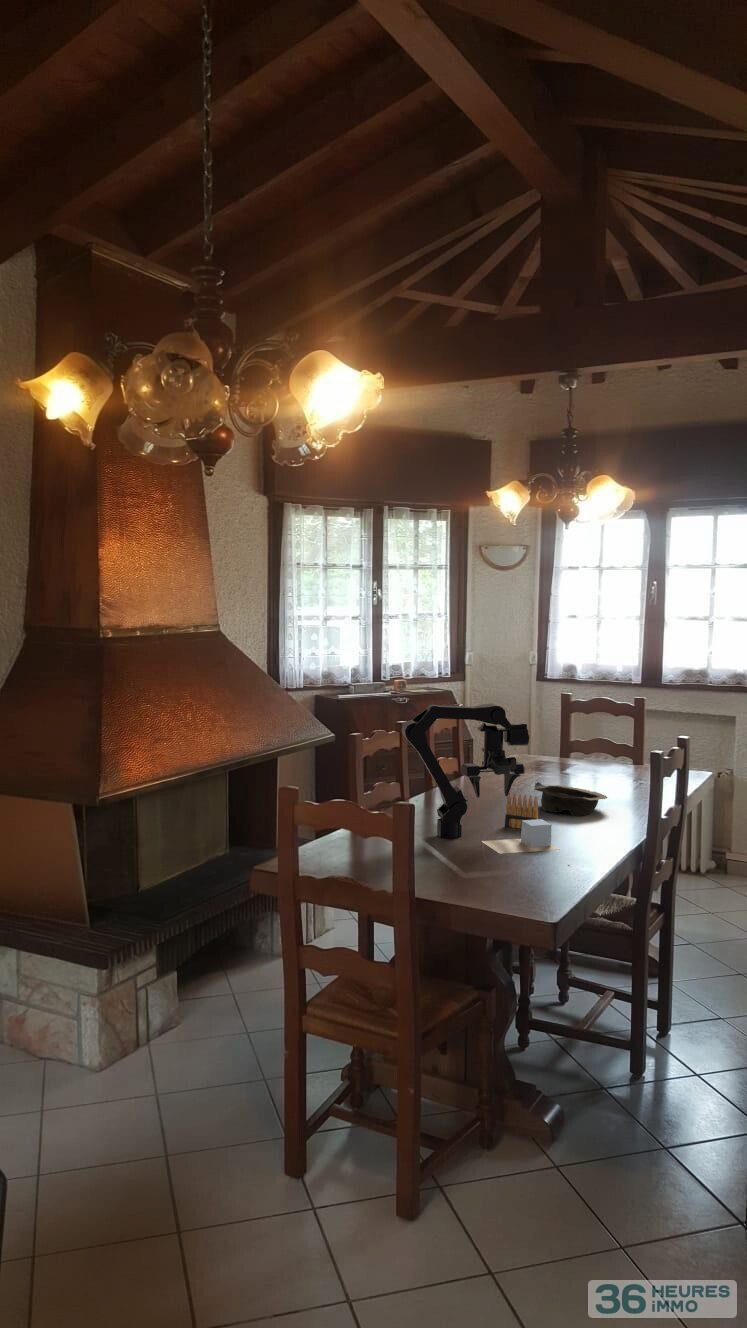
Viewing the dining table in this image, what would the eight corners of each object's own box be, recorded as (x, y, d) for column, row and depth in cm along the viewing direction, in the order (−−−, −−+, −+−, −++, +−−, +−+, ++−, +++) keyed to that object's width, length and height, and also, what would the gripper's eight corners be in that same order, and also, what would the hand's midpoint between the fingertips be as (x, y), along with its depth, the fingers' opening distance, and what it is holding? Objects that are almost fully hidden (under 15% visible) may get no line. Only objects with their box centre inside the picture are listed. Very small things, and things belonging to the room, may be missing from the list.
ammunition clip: (538, 833, 281) (539, 795, 280) (536, 834, 280) (537, 796, 279) (506, 828, 287) (507, 791, 286) (504, 829, 285) (505, 792, 284)
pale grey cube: (530, 847, 261) (531, 825, 260) (521, 841, 267) (521, 820, 266) (550, 846, 262) (551, 824, 262) (540, 840, 269) (541, 819, 268)
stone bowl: (524, 813, 306) (525, 786, 306) (545, 804, 328) (546, 778, 328) (596, 821, 295) (598, 793, 295) (614, 812, 317) (615, 785, 317)
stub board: (499, 857, 254) (499, 839, 254) (481, 845, 267) (481, 827, 266) (560, 853, 260) (560, 835, 259) (539, 841, 272) (540, 824, 272)
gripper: (475, 751, 261) (473, 804, 262) (533, 749, 266) (532, 801, 268) (460, 745, 272) (459, 796, 273) (517, 743, 277) (516, 793, 278)
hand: (492, 796), depth 273 cm, fingers open, 9 cm apart
